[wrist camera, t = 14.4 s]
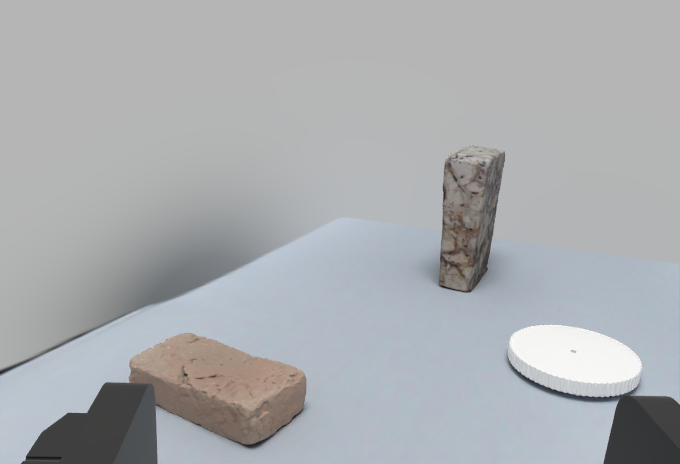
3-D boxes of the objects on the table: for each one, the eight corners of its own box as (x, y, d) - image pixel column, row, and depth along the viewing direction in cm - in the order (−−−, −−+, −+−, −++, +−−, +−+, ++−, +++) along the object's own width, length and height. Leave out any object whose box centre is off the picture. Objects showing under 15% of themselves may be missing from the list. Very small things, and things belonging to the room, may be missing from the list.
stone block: (480, 296, 90) (495, 159, 85) (433, 288, 93) (444, 154, 87) (493, 268, 102) (506, 146, 96) (450, 261, 104) (461, 142, 99)
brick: (124, 396, 62) (122, 354, 61) (186, 363, 69) (185, 324, 68) (253, 457, 54) (253, 410, 52) (309, 413, 61) (310, 370, 59)
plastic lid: (551, 333, 80) (553, 315, 79) (661, 379, 69) (665, 358, 69) (481, 364, 71) (483, 344, 70) (595, 421, 61) (599, 398, 60)
